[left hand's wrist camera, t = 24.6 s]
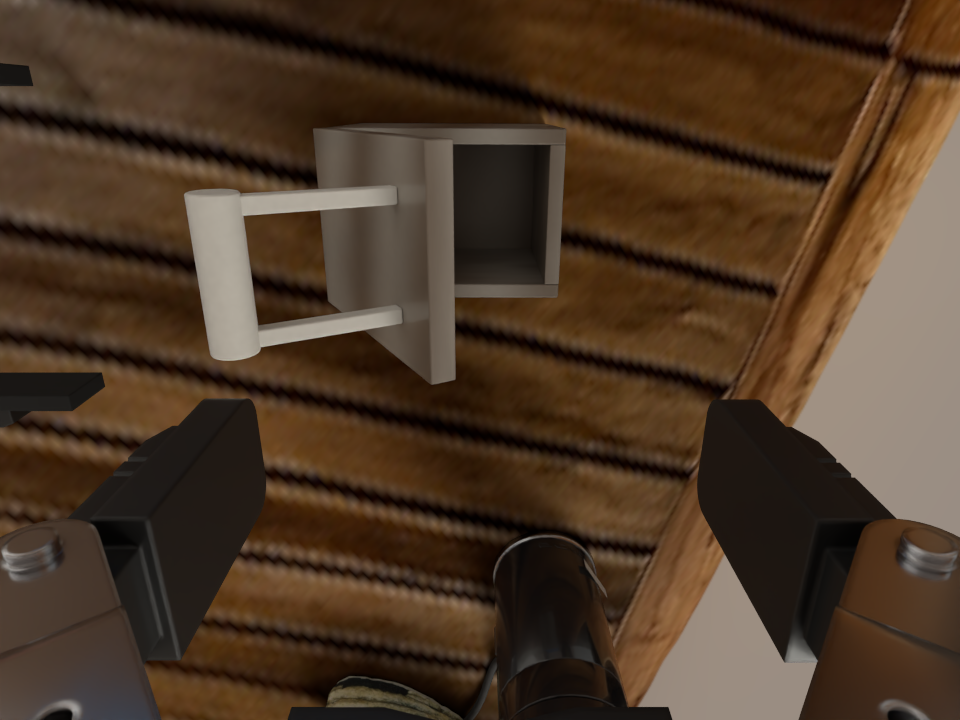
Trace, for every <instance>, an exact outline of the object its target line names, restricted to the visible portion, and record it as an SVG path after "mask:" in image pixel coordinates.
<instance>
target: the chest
mask: <svg viewBox="0 0 960 720" xmlns="http://www.w3.org/2000/svg"><path fill="white" fill-rule="evenodd" d="M328 128H340V129H351V130H362V131H374V132H385V133H397V134H408V135H419V136H431V137H442V138H451V139H452V140H453V200H454V289H455V297H533V298H556V297H558V282H559V263H560V243H561V224H562V204H563V185H564V165H565V143H566V129H565V128H560V127H556V126H552V125H548V124H454V123H359V124H352V125H344V126H336V127H328Z"/></svg>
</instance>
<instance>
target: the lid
mask: <svg viewBox="0 0 960 720" xmlns="http://www.w3.org/2000/svg"><path fill="white" fill-rule="evenodd" d="M313 134H314V145H315V157H316V168H317V179H318V189H313V190H295V191H278V192H260V193H242V194H240V192H239V191H237V190H233V189H205V190H195V191H189V192H187V193H185V194H184V197H185V203H186V210H187V216H188V222H189V228H190V234H191V240H192V246H193V252H194V258H195V264H196V270H197V276H198V282H199V288H200V294H201V300H202V307H203V313H204V319H205V325H206V331H207V337H208V343H209V349H210V355H211V356H212V357H213V358H215V359H218V360H226V361H231V360H240V359H245V358H249V357H252V356H254V355H256V354H257V353H259V352H260V349H261V347H265V346H271V345H277V344H283V343H289V342H295V341H300V340H306V339H312V338H318V337H324V336H330V335H336V334H342V333H348V332H354V331H360V330H364V331H366V332H367V333H368V334H369V335H371V336H372V337H373V338H374V339H376V340H377V341H378V342H379V343H380V344H382V345H383V346H384V347H385V348H387V349H388V350H389V351H390V352H392V353H393V354H394V355H395V356H396V357H398V358H399V359H400V360H401V361H403V362H404V363H405V364H406V365H408V366H409V367H410V368H411V369H412V370H414V371H415V372H416V373H417V374H419V375H420V376H421V377H422V378H424V379H425V380H426V381H427V382H429V383H430V384H431V385H434V384H438V383H443V382H447V381H452V380H455V378H456V377H455V289H454V200H453V140H452V139H451V138H442V137H431V136H419V135H408V134H397V133H385V132H374V131H362V130H351V129H340V128H314V129H313ZM315 210H320V213H321V225H322V236H323V247H324V259H325V270H326V281H327V293H328V301H329V302H330V303H331V304H332V305H334V306H335V307H336V308H337V309H339V310H340V311H341V312H342V313H339V314H332V315H325V316H319V317H312V318H306V319H299V320H292V321H286V322H279V323H273V324H266V325H259V326H258V323H257V315H256V308H255V300H254V292H253V285H252V277H251V270H250V262H249V255H248V247H247V240H246V232H245V225H244V217H243V216H246V215H260V214H274V213H287V212H301V211H315Z"/></svg>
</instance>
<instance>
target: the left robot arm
mask: <svg viewBox="0 0 960 720" xmlns="http://www.w3.org/2000/svg"><path fill="white" fill-rule="evenodd" d="M697 490H698V499H699V504H700V508H701V511H702V513H703V515H704V517H705V519H706V521H707V522H708V524H709V526H710V528H711V530H712V531H713V533H714V535H715V537H716V539H717V541H718V542H719V544H720V546H721V548H722V550H723V552H724V553H725V555H726V557H727V559H728V561H729V562H730V564H731V566H732V568H733V570H734V572H735V573H736V575H737V577H738V579H739V581H740V582H741V584H742V586H743V588H744V590H745V592H746V593H747V595H748V597H749V599H750V601H751V603H752V604H753V606H754V608H755V610H756V612H757V613H758V615H759V617H760V619H761V621H762V623H763V624H764V626H765V628H766V630H767V632H768V633H769V635H770V637H771V639H772V641H773V643H774V644H775V646H776V648H777V650H778V652H779V653H780V655H781V657H782V659H783V661H784V662H817V665H816V668H815V671H814V674H813V677H812V680H811V683H810V686H809V689H808V692H807V695H806V699H805V702H804V705H803V708H802V711H801V714H800V717H799V720H960V537H958V536H956V535H954V534H952V533H949V532H947V531H945V530H942V529H940V528H937V527H934V526H931V525H927V524H924V523H920V522H915V521H910V520H903V519H896V518H895V517H894V516H893V515H892V514H891V513H890V512H889V511H888V510H887V509H886V508H885V507H884V506H883V505H882V504H881V503H880V502H879V501H878V500H877V499H876V498H875V497H874V496H873V495H872V494H871V493H870V492H869V491H868V490H867V489H866V488H865V487H864V486H863V485H862V484H861V483H860V482H859V481H858V480H857V479H856V478H851V473H850V472H849V471H848V470H847V469H846V468H845V467H844V466H843V465H842V464H840V463H836V459H835V458H834V457H833V456H832V455H831V454H830V453H829V452H828V451H827V450H826V449H825V448H824V447H823V446H822V445H821V444H820V443H819V442H818V441H816V440H814V439H812V438H811V437H809V436H807V435H805V434H803V433H801V432H800V431H798V430H796V429H794V428H792V427H786V426H785V425H784V424H783V423H782V422H781V421H780V420H779V419H778V418H777V417H776V416H775V415H774V414H773V413H772V412H771V411H770V410H769V409H768V408H767V407H766V406H765V405H764V403H763V402H761V401H760V400H713V401H712V402H711V404H710V406H709V408H708V412H707V418H706V425H705V431H704V438H703V445H702V452H701V458H700V465H699V472H698V480H697ZM265 493H266V476H265V469H264V462H263V455H262V448H261V441H260V435H259V428H258V421H257V414H256V409H255V406H254V404H253V402H252V401H251V400H250V399H204V400H202V401H201V402H200V403H199V404H198V406H197V407H196V408H195V409H194V410H193V411H192V412H191V413H190V414H189V415H188V416H187V417H186V418H185V419H184V420H183V421H182V422H181V423H180V424H179V426H172V427H170V428H168V429H166V430H164V431H162V432H161V433H159V434H157V435H155V436H153V437H152V438H150V439H148V440H146V441H145V442H144V443H143V444H142V445H141V446H140V447H139V448H138V449H137V450H136V451H135V452H134V453H133V454H132V455H131V456H130V457H129V458H128V462H124V463H123V464H122V465H121V466H120V467H119V468H118V469H117V470H116V471H115V472H114V476H110V477H109V478H108V479H107V480H106V481H105V482H104V483H103V484H102V485H101V486H100V487H99V488H98V489H97V490H96V491H95V492H94V493H93V494H92V495H91V496H90V497H89V498H88V499H87V500H86V501H85V502H84V503H83V504H81V505H80V506H79V507H78V508H77V509H76V510H75V511H74V512H73V513H72V514H71V515H70V516H69V517H68V518H67V519H57V520H50V521H45V522H40V523H36V524H32V525H29V526H26V527H23V528H20V529H18V530H15V531H13V532H11V533H8V534H6V535H4V536H2V537H0V720H161V717H160V714H159V711H158V708H157V705H156V702H155V699H154V695H153V692H152V689H151V686H150V683H149V680H148V677H147V674H146V671H145V668H144V664H145V662H146V661H147V660H181V658H182V656H183V655H184V653H185V651H186V649H187V647H188V645H189V644H190V642H191V640H192V638H193V636H194V634H195V633H196V631H197V629H198V627H199V625H200V623H201V621H202V620H203V618H204V616H205V614H206V612H207V610H208V609H209V607H210V605H211V603H212V601H213V599H214V598H215V596H216V594H217V592H218V590H219V588H220V586H221V585H222V583H223V581H224V579H225V577H226V575H227V574H228V572H229V570H230V568H231V566H232V564H233V562H234V561H235V559H236V557H237V555H238V553H239V551H240V550H241V548H242V546H243V544H244V542H245V540H246V539H247V537H248V535H249V533H250V531H251V529H252V527H253V526H254V524H255V522H256V520H257V518H258V516H259V515H260V513H261V510H262V508H263V504H264V500H265ZM493 583H494V588H495V622H496V626H495V628H494V633H495V655H497V657H495V658H494V659H493V661H492V662H491V664H490V666H489V669H488V671H487V674H486V676H485V679H484V682H483V685H482V688H481V691H480V694H479V696H478V699H477V701H476V702H475V704H474V706H473V708H472V709H471V710H470V712H469V713H468V714H467V716H466V717H465V718H464V719H463V720H473V719H474V718H475V716H476V715H477V714H478V712H479V710H480V709H481V707H482V705H483V703H484V701H485V698H486V696H487V693H488V690H489V688H490V685H491V682H492V679H493V676H494V673H495V671H496V669H497V687H498V713H499V720H672V717H671V714H670V711H669V708H668V707H629V706H628V702H627V698H626V694H625V691H624V687H623V683H622V679H621V675H620V671H619V667H618V663H617V659H616V655H615V651H614V647H613V643H612V639H611V635H610V631H609V627H608V623H607V618H606V614H605V610H604V606H603V602H602V598H601V594H600V590H599V587H600V588H601V589H602V591H603V592H604V594H605V595H606V597H607V594H606V591H605V589H604V587H603V586H602V584H601V583H600V581H599V580H598V579H597V577H596V569H595V565H594V561H593V558H592V556H591V554H590V552H589V551H588V549H587V548H586V547H585V546H584V545H583V544H582V543H581V542H580V541H578V540H577V539H575V538H574V537H572V536H570V535H567V534H564V533H561V532H556V531H536V532H531V533H527V534H524V535H522V536H519V537H517V538H516V539H514V540H512V541H511V542H509V543H508V544H507V545H506V546H505V547H504V548H503V549H502V550H501V552H500V553H499V555H498V556H497V558H496V561H495V563H494V568H493ZM598 585H599V586H598ZM288 720H435V719H431V718H427V717H422V716H418V715H414V714H410V713H406V712H402V711H398V710H394V709H390V708H386V707H292V708H291V711H290V714H289V717H288Z"/></svg>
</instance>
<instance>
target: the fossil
mask: <svg viewBox="0 0 960 720" xmlns="http://www.w3.org/2000/svg"><path fill="white" fill-rule="evenodd" d="M326 707H386V708H390V709H394V710H398V711H402V712H406V713H410V714H414V715H418V716H422V717H427V718H431V719H435V720H463V719H462V718H461V717H460V716H459V715H457V714H456V713H454V712H452V711H451V710H450V709H448V708H447V707H444V706H441V705H440V704H439V703H437V702H436V701H435V700H433V699H432V698H430V697H428V696H426V695H424V694H422V693H420V692H418V691H416V690H414V689H412V688H409V687H407V686H404V685H402V684H399V683H396V682H391V681H386V680H381V679H371V678H368V677H359V676H349V677H347V678H345V679H343V680H341V681H339V682H338V683H337V684H336V685H335V686H334V687H333V689H332V690H331V692H330V693H329V696H328V702H327V705H326Z"/></svg>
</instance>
